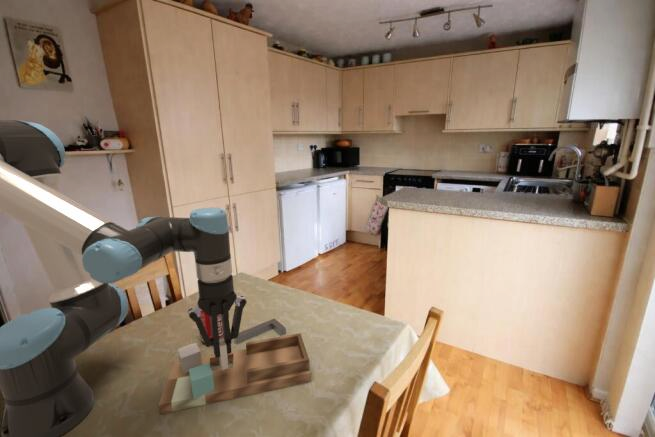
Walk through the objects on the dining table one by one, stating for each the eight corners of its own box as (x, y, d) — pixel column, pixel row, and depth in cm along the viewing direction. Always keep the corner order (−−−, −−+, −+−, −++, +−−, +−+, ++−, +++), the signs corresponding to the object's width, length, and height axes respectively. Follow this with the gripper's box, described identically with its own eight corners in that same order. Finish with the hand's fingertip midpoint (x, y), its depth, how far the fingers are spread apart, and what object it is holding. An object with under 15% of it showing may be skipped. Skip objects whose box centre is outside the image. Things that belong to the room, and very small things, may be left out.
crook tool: (243, 352, 88) (243, 346, 88) (234, 340, 94) (233, 335, 93) (286, 333, 97) (285, 327, 96) (274, 323, 102) (274, 318, 102)
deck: (160, 414, 69) (156, 393, 67) (173, 370, 82) (170, 352, 80) (310, 381, 77) (309, 362, 76) (300, 346, 90) (299, 330, 89)
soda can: (217, 346, 91) (212, 306, 88) (195, 343, 93) (190, 304, 89) (229, 332, 98) (225, 294, 95) (208, 330, 99) (204, 293, 96)
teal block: (193, 398, 69) (191, 381, 68) (191, 385, 73) (188, 369, 72) (214, 390, 72) (212, 374, 71) (211, 378, 75) (208, 362, 74)
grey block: (183, 374, 77) (181, 358, 76) (179, 363, 81) (177, 348, 79) (202, 366, 79) (200, 351, 78) (198, 356, 83) (196, 342, 82)
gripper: (185, 290, 64) (197, 386, 69) (248, 276, 70) (254, 365, 76) (181, 276, 70) (193, 365, 76) (239, 265, 76) (246, 348, 82)
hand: (224, 365), depth 76 cm, fingers closed
